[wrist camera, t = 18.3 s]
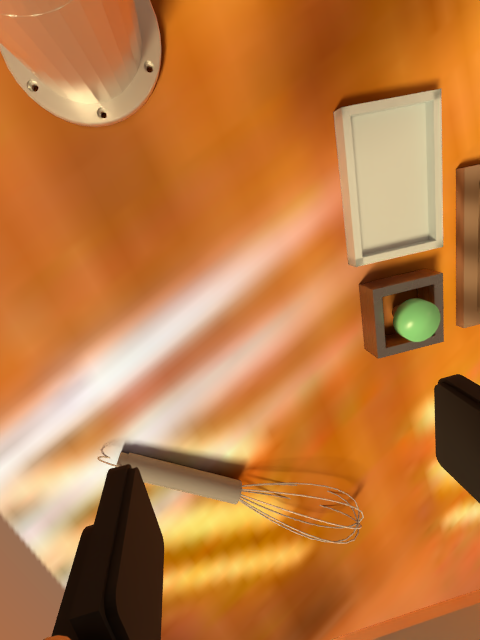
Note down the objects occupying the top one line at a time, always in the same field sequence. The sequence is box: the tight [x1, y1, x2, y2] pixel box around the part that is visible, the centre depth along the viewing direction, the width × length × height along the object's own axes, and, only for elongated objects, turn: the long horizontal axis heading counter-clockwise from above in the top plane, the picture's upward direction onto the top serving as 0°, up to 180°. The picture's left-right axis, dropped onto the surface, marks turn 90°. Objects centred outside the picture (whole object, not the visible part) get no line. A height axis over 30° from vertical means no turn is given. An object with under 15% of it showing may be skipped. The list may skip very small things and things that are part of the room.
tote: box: [333, 89, 443, 267], centre depth 37 cm, size 15×10×2 cm, turn 11°
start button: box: [392, 298, 440, 342], centre depth 39 cm, size 4×4×4 cm
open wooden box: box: [359, 269, 444, 358], centre depth 41 cm, size 8×8×3 cm
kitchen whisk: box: [98, 452, 364, 543], centre depth 43 cm, size 6×34×6 cm, turn 69°
